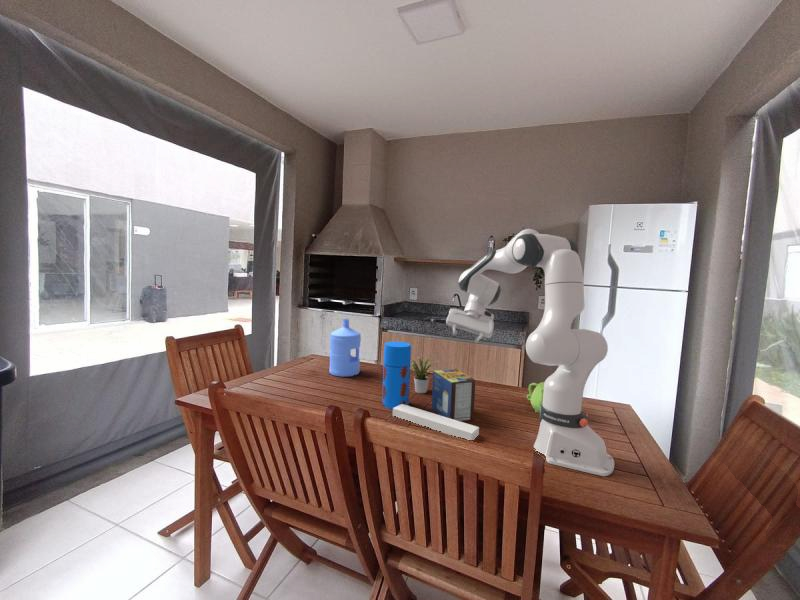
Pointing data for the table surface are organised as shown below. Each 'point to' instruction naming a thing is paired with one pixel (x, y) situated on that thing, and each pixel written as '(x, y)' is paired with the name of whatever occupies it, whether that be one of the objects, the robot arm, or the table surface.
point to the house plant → (421, 375)
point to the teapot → (536, 396)
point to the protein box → (453, 394)
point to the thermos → (396, 374)
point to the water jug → (344, 351)
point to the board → (436, 422)
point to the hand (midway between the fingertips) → (465, 338)
